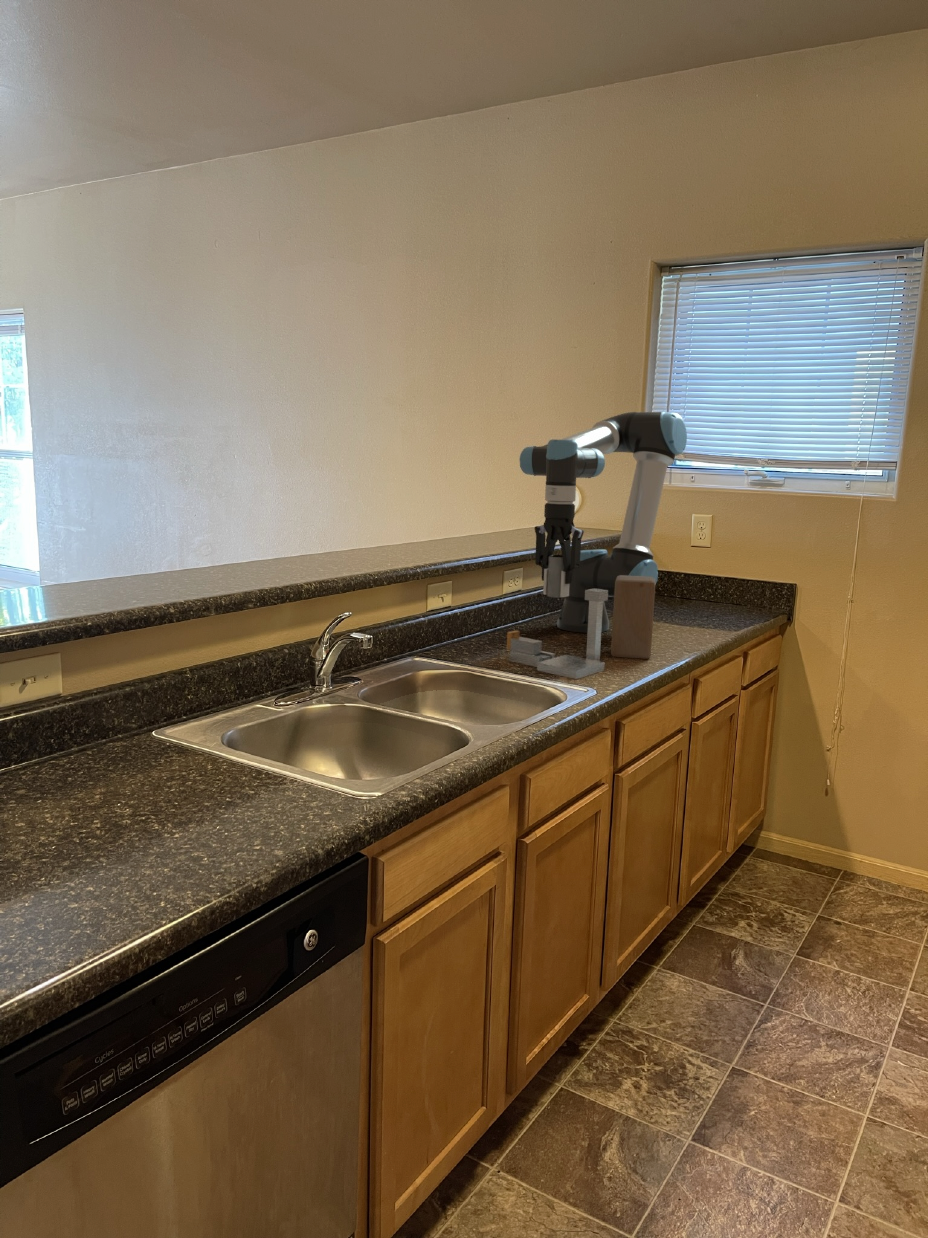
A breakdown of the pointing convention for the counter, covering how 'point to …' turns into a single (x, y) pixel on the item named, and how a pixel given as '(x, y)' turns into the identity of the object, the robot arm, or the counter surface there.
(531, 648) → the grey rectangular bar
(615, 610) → the wooden block
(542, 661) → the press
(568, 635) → the counter surface
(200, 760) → the counter surface
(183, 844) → the counter surface
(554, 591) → the grey hollow tube
